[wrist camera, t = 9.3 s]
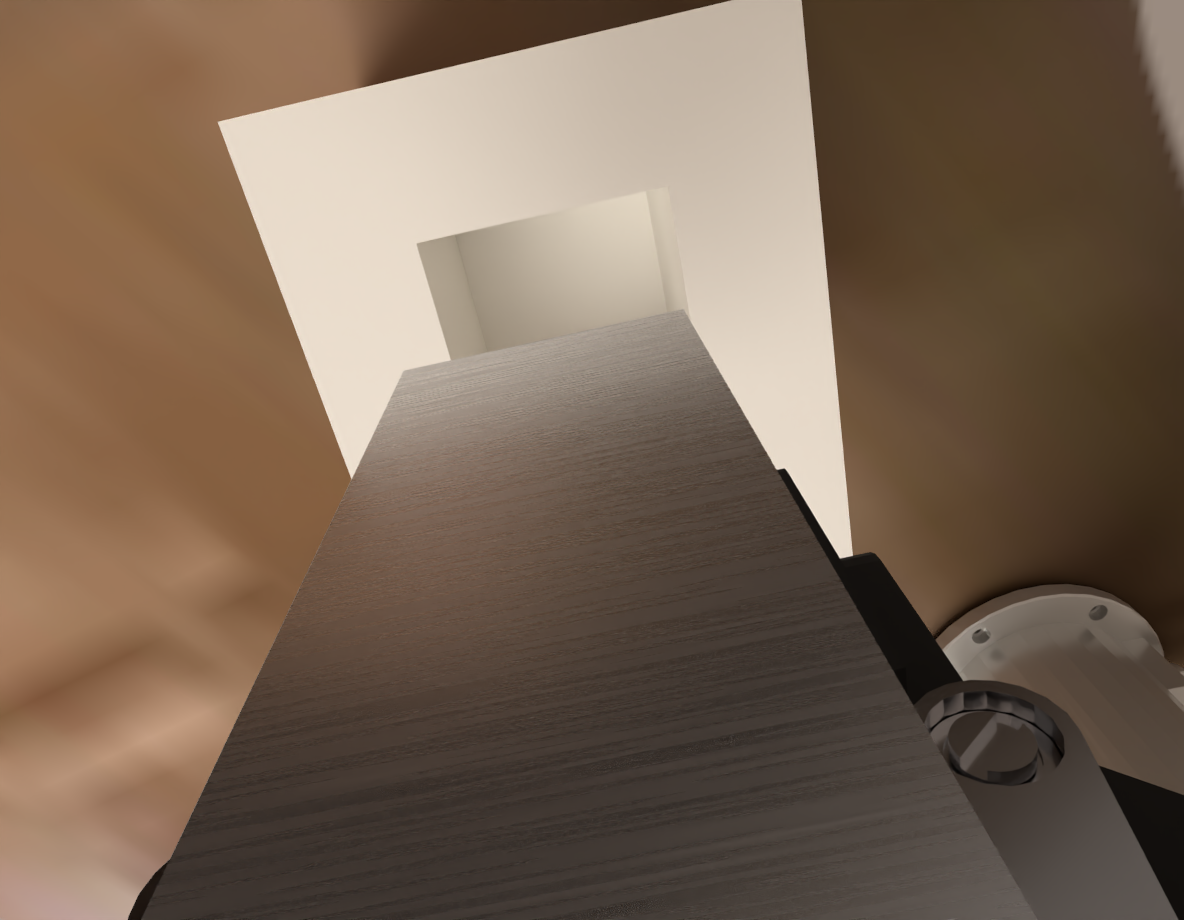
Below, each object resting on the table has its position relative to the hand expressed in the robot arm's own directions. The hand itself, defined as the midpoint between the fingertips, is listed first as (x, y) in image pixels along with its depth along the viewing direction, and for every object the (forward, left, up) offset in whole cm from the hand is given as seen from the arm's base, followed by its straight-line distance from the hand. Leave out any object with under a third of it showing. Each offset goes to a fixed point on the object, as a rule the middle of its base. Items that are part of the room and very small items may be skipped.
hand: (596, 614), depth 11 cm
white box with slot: (0, 0, -24) cm, 24 cm away
